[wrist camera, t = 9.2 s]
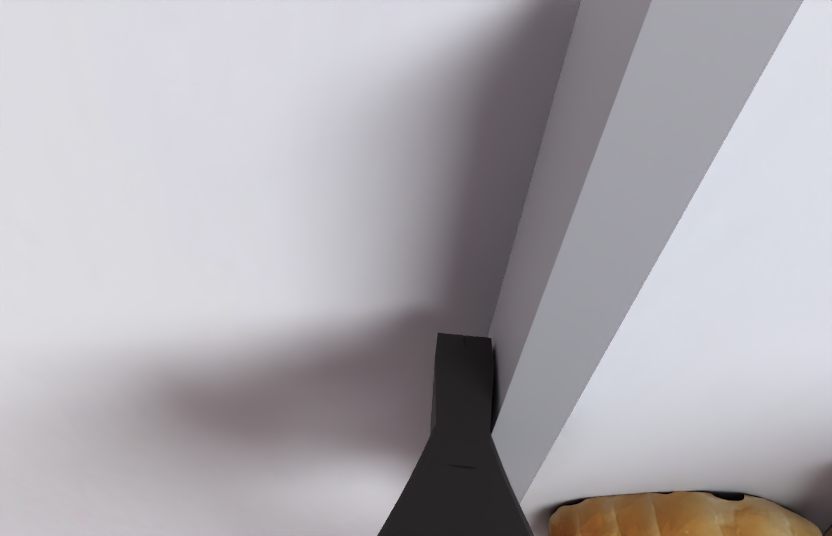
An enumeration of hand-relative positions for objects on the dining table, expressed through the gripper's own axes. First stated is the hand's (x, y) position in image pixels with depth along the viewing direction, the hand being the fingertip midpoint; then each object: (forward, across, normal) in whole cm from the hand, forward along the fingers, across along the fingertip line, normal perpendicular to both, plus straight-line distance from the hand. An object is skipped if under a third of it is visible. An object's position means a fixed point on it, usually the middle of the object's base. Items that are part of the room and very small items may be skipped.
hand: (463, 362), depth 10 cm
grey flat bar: (+1, -1, -2) cm, 2 cm away
